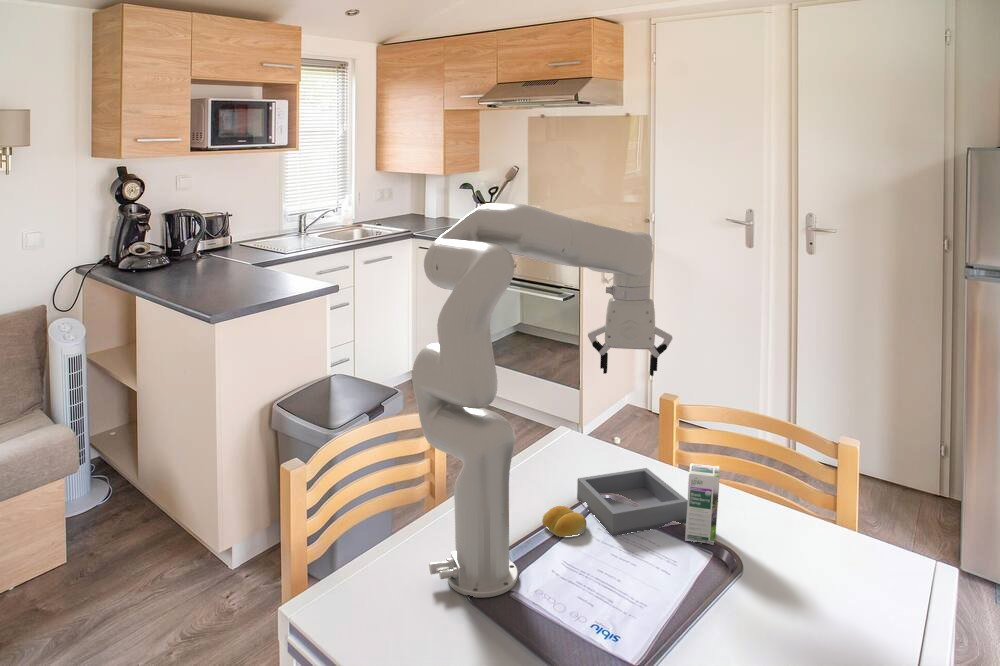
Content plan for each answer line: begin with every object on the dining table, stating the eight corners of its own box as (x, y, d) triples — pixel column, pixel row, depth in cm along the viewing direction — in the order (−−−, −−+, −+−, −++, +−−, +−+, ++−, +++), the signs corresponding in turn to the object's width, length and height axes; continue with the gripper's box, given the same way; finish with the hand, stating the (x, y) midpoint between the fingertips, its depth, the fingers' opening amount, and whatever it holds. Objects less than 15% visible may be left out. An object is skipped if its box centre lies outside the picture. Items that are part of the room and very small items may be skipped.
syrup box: (684, 542, 139) (688, 473, 135) (686, 527, 144) (690, 461, 141) (714, 546, 137) (720, 477, 134) (715, 531, 143) (720, 464, 139)
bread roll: (567, 544, 139) (567, 525, 138) (535, 527, 145) (536, 509, 144) (596, 530, 144) (596, 512, 143) (564, 514, 150) (564, 496, 150)
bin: (612, 536, 141) (613, 513, 140) (577, 499, 156) (577, 478, 155) (686, 523, 146) (688, 501, 145) (645, 488, 162) (646, 467, 160)
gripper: (587, 295, 143) (585, 376, 148) (675, 297, 140) (671, 380, 144) (590, 288, 151) (588, 366, 155) (673, 290, 148) (669, 369, 152)
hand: (628, 372), depth 150 cm, fingers open, 9 cm apart
